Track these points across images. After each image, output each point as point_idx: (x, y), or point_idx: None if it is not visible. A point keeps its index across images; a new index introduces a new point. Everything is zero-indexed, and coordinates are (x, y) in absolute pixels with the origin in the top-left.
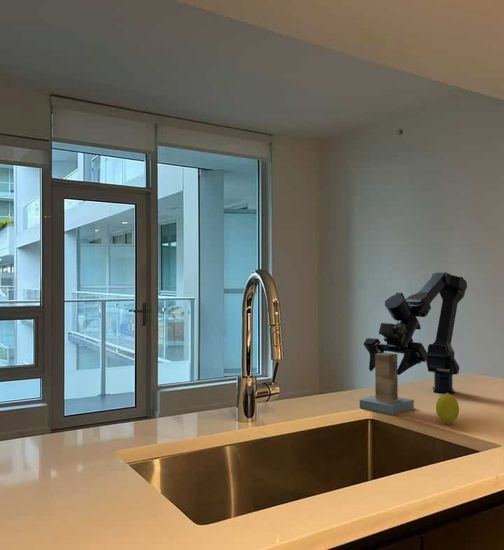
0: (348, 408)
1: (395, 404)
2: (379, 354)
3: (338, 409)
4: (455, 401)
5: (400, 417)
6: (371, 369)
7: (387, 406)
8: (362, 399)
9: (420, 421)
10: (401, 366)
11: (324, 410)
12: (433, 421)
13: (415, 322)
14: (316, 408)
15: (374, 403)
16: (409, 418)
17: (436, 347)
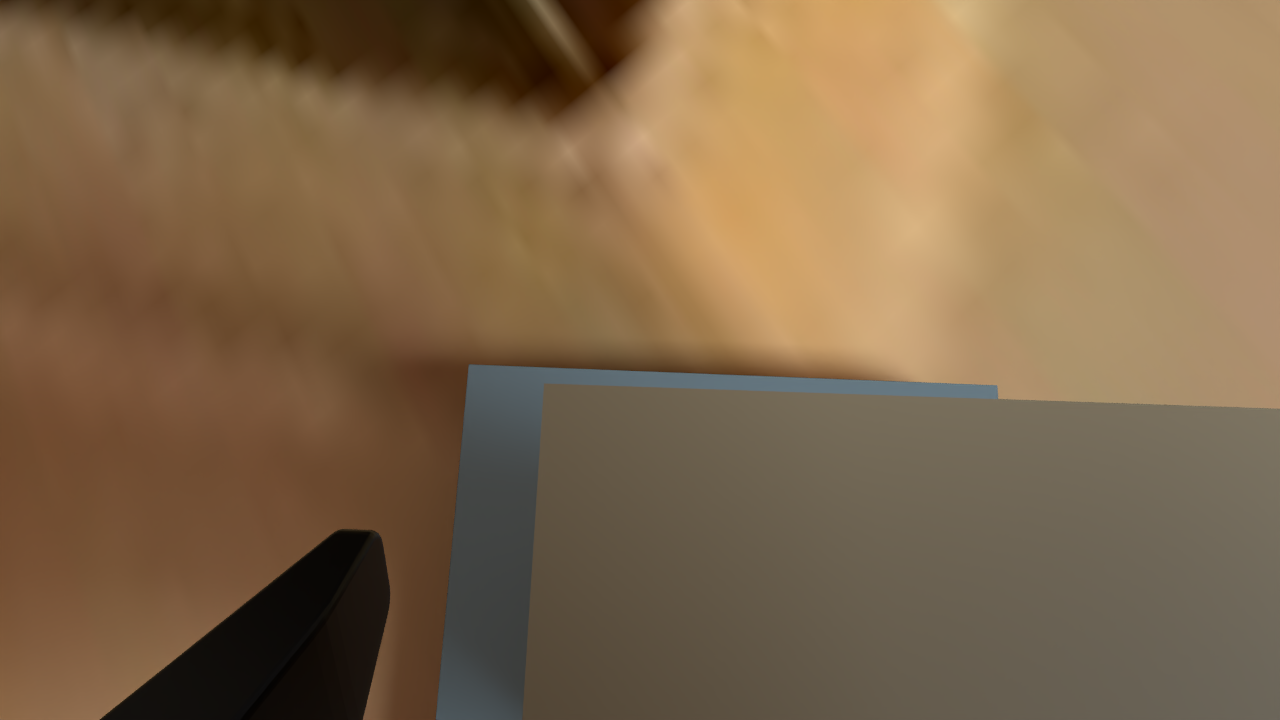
0: (1029, 300)
1: (486, 471)
2: (1183, 425)
3: (1071, 189)
4: None
5: (375, 354)
6: None
7: (551, 370)
8: None
9: (135, 353)
10: (179, 656)
11: (1138, 59)
12: (15, 450)
13: None
14: (1257, 69)
15: (750, 377)
16: (279, 383)
17: None
